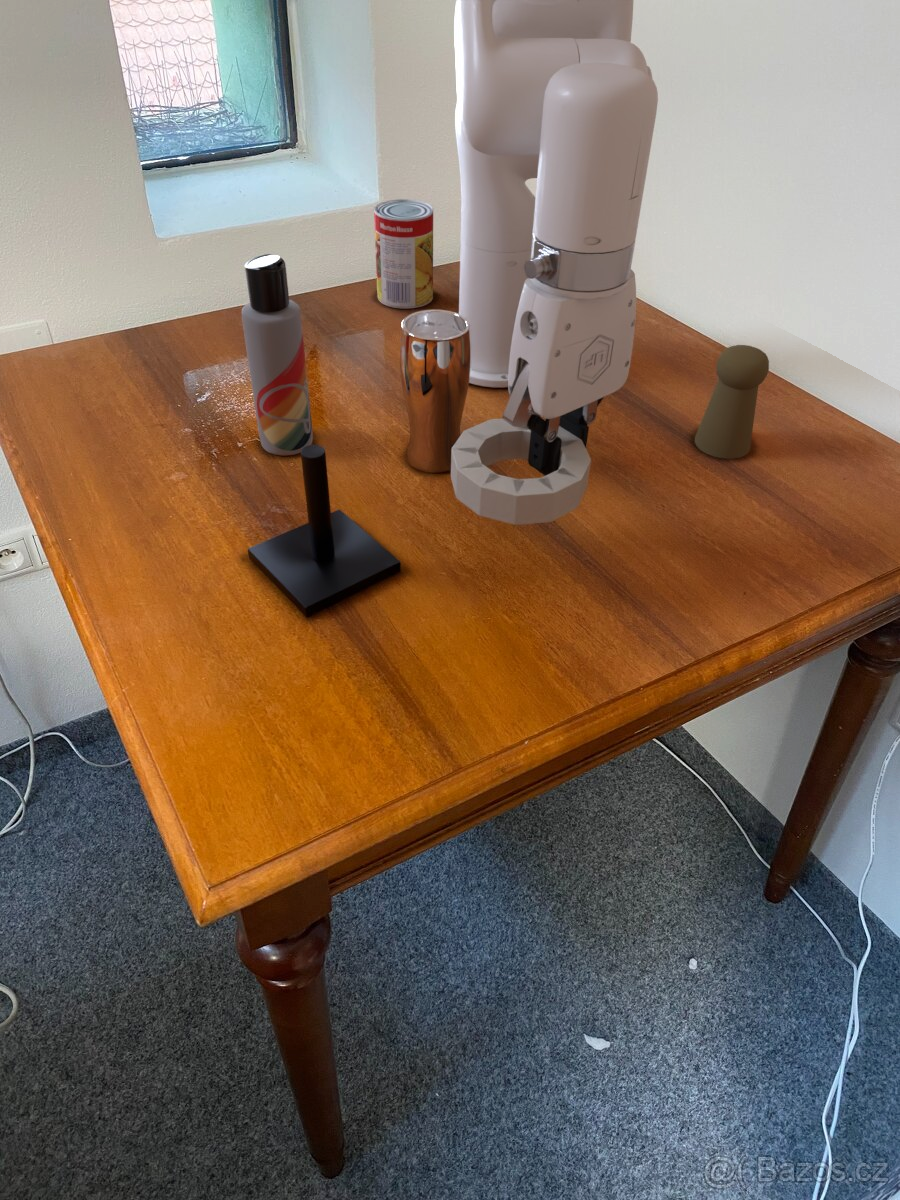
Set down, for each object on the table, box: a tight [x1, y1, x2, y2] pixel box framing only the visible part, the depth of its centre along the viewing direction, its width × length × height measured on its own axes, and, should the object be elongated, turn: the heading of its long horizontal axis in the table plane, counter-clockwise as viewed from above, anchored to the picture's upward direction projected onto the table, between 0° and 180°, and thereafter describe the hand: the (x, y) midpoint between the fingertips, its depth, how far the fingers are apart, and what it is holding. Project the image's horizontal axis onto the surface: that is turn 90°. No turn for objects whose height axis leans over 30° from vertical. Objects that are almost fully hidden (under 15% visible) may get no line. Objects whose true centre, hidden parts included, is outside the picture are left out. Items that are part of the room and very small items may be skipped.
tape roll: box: [450, 417, 592, 526], centre depth 75 cm, size 11×11×3 cm
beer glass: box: [399, 309, 471, 474], centre depth 88 cm, size 7×7×15 cm
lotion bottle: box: [241, 253, 314, 457], centre depth 88 cm, size 6×6×20 cm
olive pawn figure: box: [694, 344, 770, 460], centre depth 93 cm, size 6×6×11 cm
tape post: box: [247, 444, 402, 618], centre depth 76 cm, size 10×10×12 cm
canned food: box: [373, 198, 434, 310], centre depth 120 cm, size 8×8×12 cm
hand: (555, 463), depth 78 cm, fingers closed on tape roll, 2 cm apart
